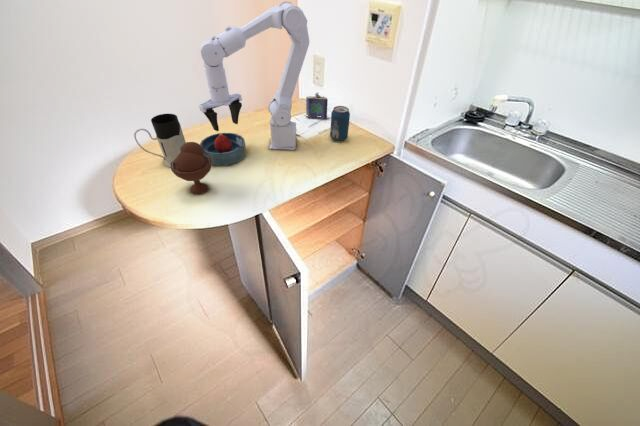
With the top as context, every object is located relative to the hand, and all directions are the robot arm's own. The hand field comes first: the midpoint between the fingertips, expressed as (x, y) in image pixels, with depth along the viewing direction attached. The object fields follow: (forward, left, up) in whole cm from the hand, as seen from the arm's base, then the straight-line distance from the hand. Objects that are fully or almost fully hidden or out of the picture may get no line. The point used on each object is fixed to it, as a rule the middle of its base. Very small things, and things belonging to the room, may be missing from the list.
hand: (226, 126), depth 99 cm
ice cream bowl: (+4, +23, -10) cm, 25 cm away
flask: (-31, -31, -10) cm, 45 cm away
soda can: (-40, -12, -10) cm, 43 cm away
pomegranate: (+1, +3, -9) cm, 10 cm away
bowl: (+1, +3, -9) cm, 10 cm away
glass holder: (+18, +9, -10) cm, 23 cm away
